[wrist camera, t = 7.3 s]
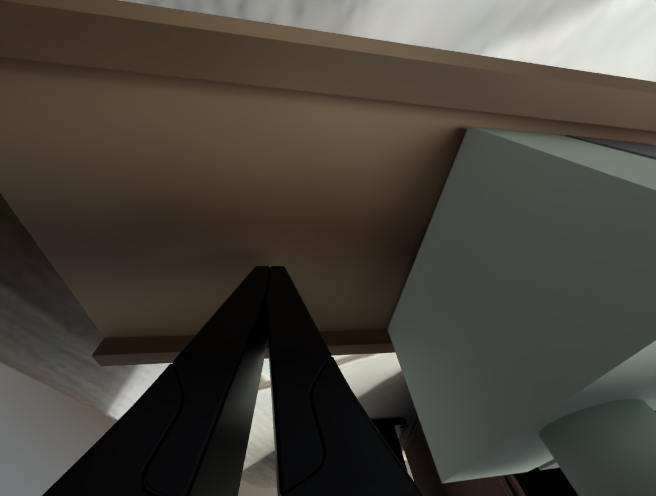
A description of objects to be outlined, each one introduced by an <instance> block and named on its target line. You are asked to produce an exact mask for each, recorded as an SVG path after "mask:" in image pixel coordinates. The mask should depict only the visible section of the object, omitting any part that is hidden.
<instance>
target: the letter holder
mask: <svg viewBox="0 0 656 496" xmlns="http://www.w3.org/2000/svg"><path fill="white" fill-rule="evenodd" d="M404 451H405V454H406V457H407V460H408V463H409V466H410V469H411V473H412V476H413V479H414V482H415V484H416V485H417V487H418V488H419V490H420V491H421V492H422V493H423V495H424V496H578V494H577V493H576V491H575V490H574V488H573V487H572V485H571V484H570V482H569V481H568V479H567V478H566V476H565V474H564V473H563V471H562V470H561V468H553V469H545V470H539V468H538V467H536V468H534V469H532V470H530V471H528V472H523V473H515V474H508V475H501V476H493V477H486V478H478V479H471V480H463V481H456V482H449V483H442V482H441V479H440V476H439V474H438V471H437V468H436V465H435V462H434V459H433V457H432V454H431V451H430V448H429V445H428V443H427V440H426V437H425V434H424V431H423V428H422V426H421V423H420V420H419V417H418V418H417V420H416V422H415V424H414V427H413V429H412V431H411V434H410V436H409V438H408V440H407V443H406V445H405V447H404Z"/></svg>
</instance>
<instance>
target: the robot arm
mask: <svg viewBox="0 0 656 496" xmlns="http://www.w3.org/2000/svg"><path fill="white" fill-rule="evenodd" d="M267 340H268V347H269V363H270V379H271V395H272V411H273V428H274V444H275V460H276V476H277V492H278V496H424V495H423V493H422V492H421V491H420V490H419V488H418V487H417V485H416V484H415V483H414V481H413V480H412V478H411V477H410V476H409V474H408V472H407V468H406V465H405V461H404V458H403V454H402V451H401V447H400V443H399V440H398V439H399V437H400V436H401V435H402V433H403V432H404V431H405V429H406V428H407V427H408V423H407V420H405V419H403V420H391V421H380V422H372V421H371V419H370V418H369V416H368V415H367V413H366V412H365V410H364V409H363V407H362V406H361V404H360V402H359V401H358V399H357V398H356V396H355V395H354V393H353V392H352V390H351V388H350V387H349V385H348V383H347V381H346V380H345V378H344V376H343V374H342V373H341V371H340V369H339V367H338V365H337V363H336V361H335V360H334V358H333V357H331V352H330V350H329V349H328V347H327V345H326V343H325V341H324V339H323V337H322V335H321V334H320V332H319V330H318V328H317V326H316V324H315V322H314V320H313V318H312V317H311V315H310V313H309V311H308V309H307V307H306V305H305V303H304V302H303V300H302V298H301V296H300V294H299V292H298V290H297V288H296V286H295V285H294V283H293V281H292V279H291V277H290V275H289V273H288V271H287V270H286V268H285V267H284V266H271V268H270V266H255V267H254V268H253V270H252V271H251V272H250V273H249V274H248V275H247V276H246V278H245V279H244V280H243V281H242V282H241V283H240V285H239V286H238V287H237V288H236V289H235V290H234V291H233V293H232V294H231V295H230V296H229V297H228V298H227V299H226V301H225V302H224V303H223V304H222V305H221V306H220V307H219V309H218V310H217V311H216V312H215V313H214V314H213V316H212V317H211V318H210V319H209V320H208V321H207V322H206V324H205V325H204V326H203V327H202V328H201V329H200V330H199V332H198V333H197V334H196V335H195V336H194V337H193V338H192V340H191V341H190V342H189V343H188V344H187V345H186V347H185V348H184V349H183V350H182V351H181V352H180V353H179V355H178V356H177V357H176V358H175V359H174V360H173V364H170V365H169V366H168V367H167V368H166V369H165V370H164V372H163V373H162V374H161V375H160V376H159V377H158V378H157V380H156V381H155V382H154V383H153V384H152V385H151V386H150V387H149V388H148V389H147V391H146V392H145V393H144V394H143V395H142V396H141V397H140V398H139V399H138V400H137V402H136V403H135V404H134V405H133V406H132V407H131V408H130V409H129V410H128V411H127V412H126V413H125V414H124V415H123V416H122V417H121V418H120V419H119V420H118V421H117V422H116V423H115V424H114V425H113V426H112V427H111V428H110V429H109V430H108V431H107V432H106V433H105V434H104V435H103V436H102V437H101V438H100V439H99V440H98V441H97V442H96V443H95V444H94V445H93V446H92V447H91V448H90V449H89V450H88V451H87V452H86V453H85V454H84V455H83V456H82V457H81V458H80V459H79V460H78V461H77V462H76V463H75V464H74V465H73V466H72V467H71V468H70V469H69V470H68V471H67V472H66V473H65V474H64V475H63V476H62V477H61V478H60V479H59V480H58V481H57V482H56V483H54V484H53V486H51V487H50V488H49V489H48V490H47V491H46V492H45V493H44V494H43V495H42V496H238V491H239V486H240V481H241V476H242V471H243V465H244V460H245V455H246V450H247V445H248V440H249V434H250V429H251V424H252V419H253V414H254V408H255V403H256V398H257V393H258V388H259V382H260V377H261V372H262V367H263V362H264V357H265V351H266V346H267Z"/></svg>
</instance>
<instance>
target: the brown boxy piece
mask: <svg viewBox="0 0 656 496" xmlns="http://www.w3.org/2000/svg"><path fill="white" fill-rule="evenodd" d="M468 126H474V127H484V128H493V129H503V130H513V131H522V132H532V133H542V134H551V135H561V136H566V137H569V138H573V139H577V140H581V141H585V142H589V143H593V144H596V145H600V146H604V147H608V148H612V149H616V150H620V151H623V152H627V153H631V154H635V155H639V156H643V157H647V158H650V159H654V160H656V82H652V81H645V80H639V79H632V78H625V77H619V76H612V75H606V74H599V73H592V72H586V71H579V70H573V69H566V68H559V67H553V66H546V65H540V64H533V63H527V62H520V61H513V60H507V59H500V58H494V57H487V56H480V55H474V54H467V53H461V52H454V51H447V50H441V49H434V48H428V47H421V46H414V45H408V44H401V43H395V42H388V41H381V40H375V39H368V38H362V37H355V36H348V35H342V34H335V33H329V32H322V31H316V30H309V29H302V28H296V27H289V26H283V25H276V24H269V23H263V22H256V21H250V20H243V19H236V18H230V17H223V16H217V15H210V14H203V13H197V12H190V11H184V10H177V9H170V8H164V7H157V6H151V5H144V4H137V3H131V2H124V1H118V0H0V194H1V195H2V196H3V198H4V199H5V201H6V202H7V203H8V205H9V206H10V208H11V209H12V210H13V212H14V213H15V214H16V216H17V217H18V219H19V220H20V221H21V223H22V224H23V226H24V227H25V228H26V230H27V231H28V233H29V234H30V235H31V237H32V238H33V240H34V241H35V242H36V244H37V245H38V247H39V248H40V249H41V251H42V252H43V253H44V255H45V256H46V258H47V259H48V260H49V262H50V263H51V265H52V266H53V267H54V269H55V270H56V272H57V273H58V274H59V276H60V277H61V279H62V280H63V281H64V283H65V284H66V286H67V287H68V288H69V290H70V291H71V292H72V294H73V295H74V297H75V298H76V299H77V301H78V302H79V304H80V305H81V306H82V308H83V309H84V311H85V312H86V313H87V315H88V316H89V318H90V319H91V320H92V322H93V323H94V325H95V326H96V327H97V329H98V330H99V331H100V333H101V334H102V336H103V337H104V339H103V340H102V342H101V343H100V345H99V346H98V348H97V349H96V351H95V352H94V353H93V355H92V356H93V358H94V359H95V360H96V361H97V362H98V364H99V365H100V366H114V365H136V364H157V363H173V360H174V359H175V358H176V357H177V356H178V355H179V353H180V352H181V351H182V350H183V349H184V348H185V347H186V345H187V344H188V343H189V342H190V341H191V340H192V338H193V337H194V336H195V335H196V334H197V333H198V332H199V330H200V329H201V328H202V327H203V326H204V325H205V324H206V322H207V321H208V320H209V319H210V318H211V317H212V316H213V314H214V313H215V312H216V311H217V310H218V309H219V307H220V306H221V305H222V304H223V303H224V302H225V301H226V299H227V298H228V297H229V296H230V295H231V294H232V293H233V291H234V290H235V289H236V288H237V287H238V286H239V285H240V283H241V282H242V281H243V280H244V279H245V278H246V276H247V275H248V274H249V273H250V272H251V271H252V270H253V268H254V267H255V266H270V268H271V266H284V267H285V268H286V270H287V271H288V273H289V275H290V277H291V279H292V281H293V283H294V285H295V286H296V288H297V290H298V292H299V294H300V296H301V298H302V300H303V302H304V303H305V305H306V307H307V309H308V311H309V313H310V315H311V317H312V318H313V320H314V322H315V324H316V326H317V328H318V330H319V332H320V334H321V335H322V337H323V339H324V341H325V343H326V345H327V347H328V349H329V350H330V352H331V355H350V354H372V353H393V352H395V349H394V346H393V344H392V341H391V338H390V335H389V332H388V327H389V324H390V322H391V319H392V317H393V314H394V312H395V309H396V307H397V304H398V302H399V299H400V297H401V294H402V292H403V289H404V287H405V284H406V282H407V279H408V277H409V274H410V272H411V269H412V267H413V264H414V262H415V259H416V257H417V254H418V252H419V249H420V247H421V244H422V242H423V239H424V237H425V234H426V231H427V229H428V226H429V224H430V221H431V219H432V216H433V214H434V211H435V209H436V206H437V204H438V201H439V199H440V196H441V194H442V191H443V189H444V186H445V184H446V181H447V179H448V176H449V174H450V171H451V169H452V166H453V164H454V161H455V159H456V156H457V154H458V151H459V149H460V146H461V144H462V141H463V139H464V136H465V134H466V131H467V128H468ZM264 358H269V347H268V340H267V346H266V351H265V357H264ZM655 412H656V410H655ZM538 468H539V470H545V469H553V468H560V467H559V465H558V464H557V462H556V461H555V459H553V460H551V461H549V462H547V463H545V464H543V465H540V466H538Z"/></svg>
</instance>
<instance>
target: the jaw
mask: <svg viewBox="0 0 656 496" xmlns="http://www.w3.org/2000/svg"><path fill="white" fill-rule="evenodd" d="M388 332H389V335H390V338H391V341H392V344H393V346H394V349H395V352H396V355H397V358H398V361H399V363H400V366H401V369H402V372H403V375H404V377H405V380H406V383H407V386H408V389H409V392H410V394H411V397H412V400H413V403H414V406H415V409H416V411H417V414H418V417H419V420H420V423H421V426H422V428H423V431H424V434H425V437H426V440H427V443H428V445H429V448H430V451H431V454H432V457H433V459H434V462H435V465H436V468H437V471H438V474H439V476H440V479H441V482H442V483H449V482H456V481H463V480H471V479H478V478H486V477H493V476H501V475H508V474H515V473H523V472H528V471H530V470H532V469H534V468H536V467H538V466H540V465H543V464H545V463H547V462H549V461H551V460H553V459H555V461H556V462H557V464H558V465H559V467H560V468H561V470H562V471H563V473H564V474H565V476H566V478H567V479H568V481H569V482H570V484H571V485H572V487H573V488H574V490H575V491H576V493H577V494H578V496H656V412H655V410H656V160H654V159H650V158H647V157H643V156H639V155H635V154H631V153H627V152H623V151H620V150H616V149H612V148H608V147H604V146H600V145H596V144H593V143H589V142H585V141H581V140H577V139H573V138H569V137H566V136H561V135H551V134H542V133H532V132H522V131H513V130H503V129H493V128H484V127H474V126H468V128H467V131H466V134H465V136H464V139H463V141H462V144H461V146H460V149H459V151H458V154H457V156H456V159H455V161H454V164H453V166H452V169H451V171H450V174H449V176H448V179H447V181H446V184H445V186H444V189H443V191H442V194H441V196H440V199H439V201H438V204H437V206H436V209H435V211H434V214H433V216H432V219H431V221H430V224H429V226H428V229H427V231H426V234H425V237H424V239H423V242H422V244H421V247H420V249H419V252H418V254H417V257H416V259H415V262H414V264H413V267H412V269H411V272H410V274H409V277H408V279H407V282H406V284H405V287H404V289H403V292H402V294H401V297H400V299H399V302H398V304H397V307H396V309H395V312H394V314H393V317H392V319H391V322H390V324H389V327H388Z"/></svg>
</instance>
